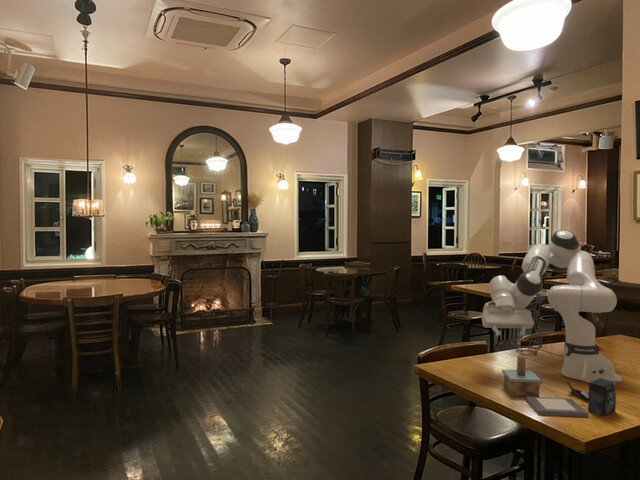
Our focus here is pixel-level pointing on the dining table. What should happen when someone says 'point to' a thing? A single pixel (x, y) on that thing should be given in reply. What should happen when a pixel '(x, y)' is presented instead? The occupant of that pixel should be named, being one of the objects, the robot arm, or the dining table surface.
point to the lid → (521, 372)
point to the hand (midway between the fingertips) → (510, 335)
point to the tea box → (521, 388)
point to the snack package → (580, 392)
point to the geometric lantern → (530, 329)
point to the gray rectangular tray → (556, 406)
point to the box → (602, 397)
